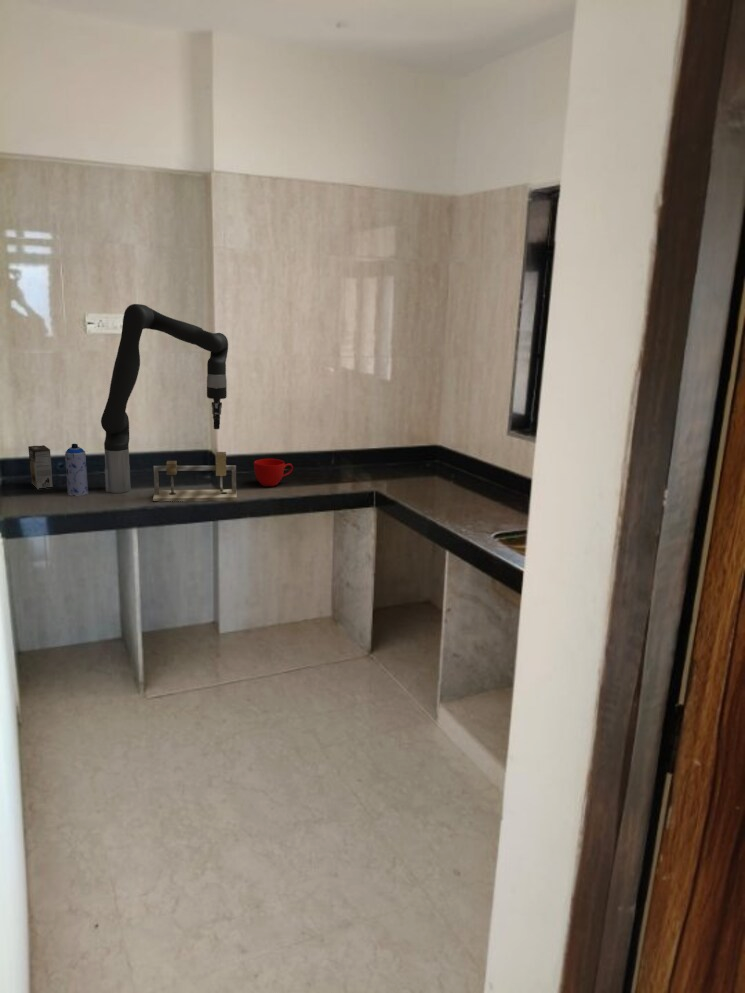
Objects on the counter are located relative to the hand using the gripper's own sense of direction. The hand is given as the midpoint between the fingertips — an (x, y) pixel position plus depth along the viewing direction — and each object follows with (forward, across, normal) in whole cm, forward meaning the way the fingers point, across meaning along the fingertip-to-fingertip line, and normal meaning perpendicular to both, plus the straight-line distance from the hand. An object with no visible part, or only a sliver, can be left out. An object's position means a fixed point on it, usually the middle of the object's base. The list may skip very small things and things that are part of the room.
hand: (216, 427), depth 293 cm
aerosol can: (+29, -6, -54) cm, 62 cm away
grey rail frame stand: (+28, +1, -8) cm, 30 cm away
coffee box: (+29, -18, -70) cm, 78 cm away
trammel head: (+26, +1, +2) cm, 26 cm away
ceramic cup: (+28, -18, +24) cm, 41 cm away
